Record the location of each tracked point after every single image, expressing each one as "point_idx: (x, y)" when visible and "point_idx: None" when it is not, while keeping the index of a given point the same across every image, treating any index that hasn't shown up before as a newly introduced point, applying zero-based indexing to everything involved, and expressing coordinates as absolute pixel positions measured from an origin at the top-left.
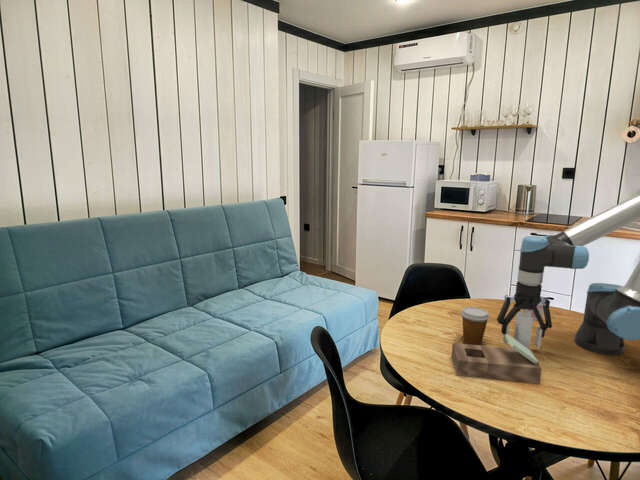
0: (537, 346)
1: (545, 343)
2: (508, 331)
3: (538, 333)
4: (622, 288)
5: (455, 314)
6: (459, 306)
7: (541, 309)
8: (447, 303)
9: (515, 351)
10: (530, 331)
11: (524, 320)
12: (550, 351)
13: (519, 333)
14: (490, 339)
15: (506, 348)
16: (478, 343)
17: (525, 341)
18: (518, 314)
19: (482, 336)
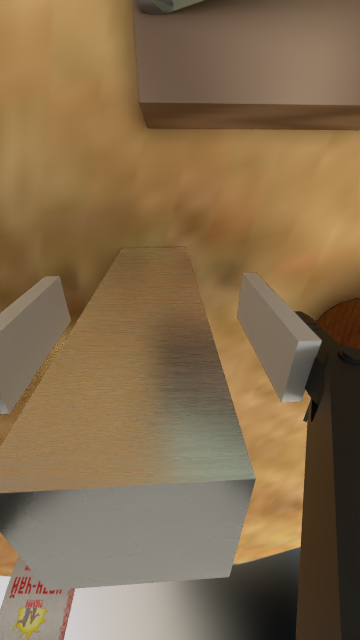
0: (58, 279)
1: (25, 390)
2: (282, 315)
3: (18, 340)
4: None
5: (297, 500)
6: (262, 535)
7: (17, 572)
8: (289, 541)
9: (290, 15)
10: (88, 318)
11: (160, 412)
12: None
13: (192, 299)
14: (252, 374)
15: (349, 86)
16: (349, 307)
17: (136, 275)
18: (235, 533)
19: (353, 335)
